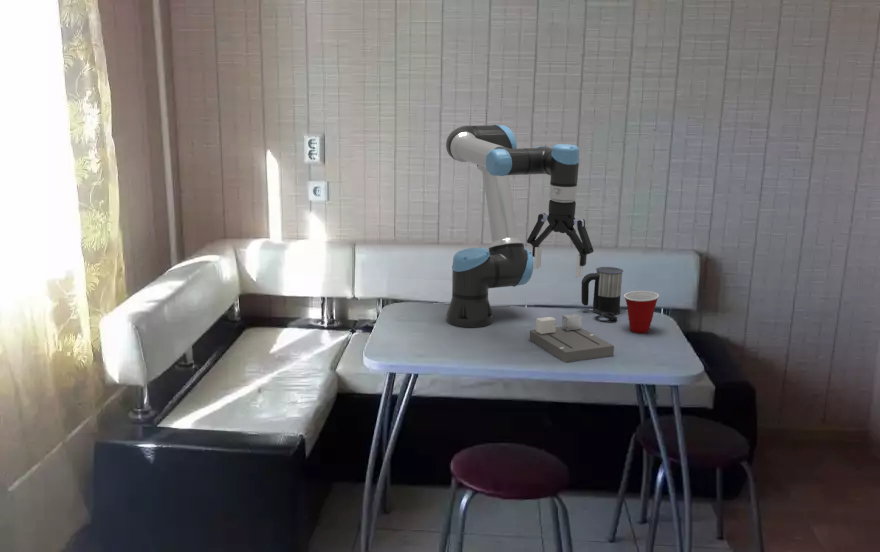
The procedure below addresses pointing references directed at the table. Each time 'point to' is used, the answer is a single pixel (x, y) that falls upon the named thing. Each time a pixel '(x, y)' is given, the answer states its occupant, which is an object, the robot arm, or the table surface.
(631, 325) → the plastic cup
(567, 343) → the slider panel
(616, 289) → the milk frother
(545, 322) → the fader
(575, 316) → the fader
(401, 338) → the table surface
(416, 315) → the table surface
